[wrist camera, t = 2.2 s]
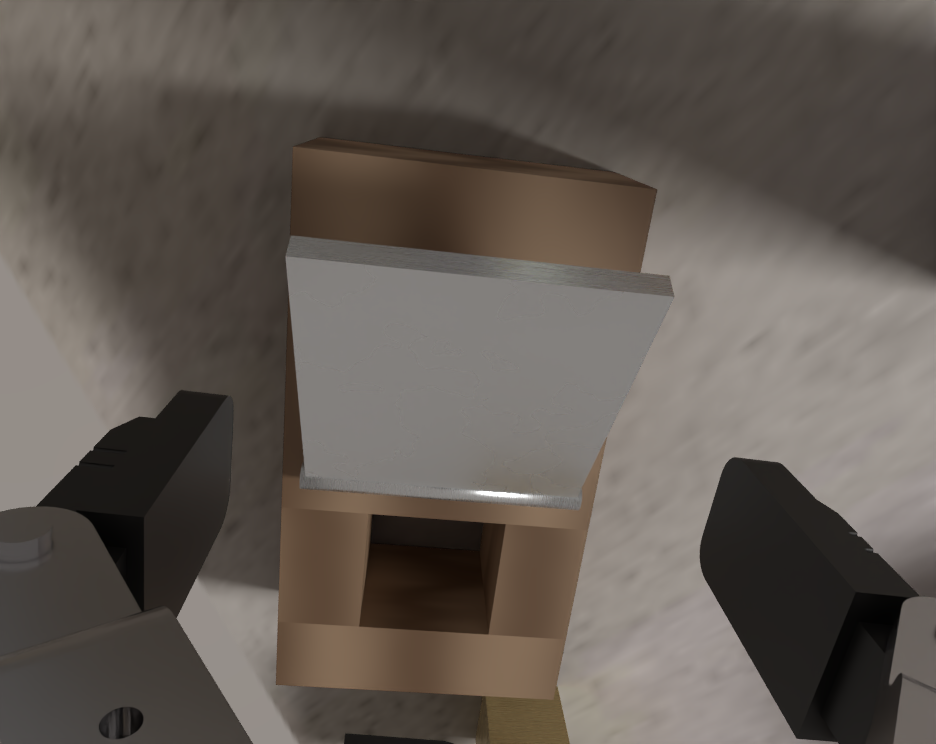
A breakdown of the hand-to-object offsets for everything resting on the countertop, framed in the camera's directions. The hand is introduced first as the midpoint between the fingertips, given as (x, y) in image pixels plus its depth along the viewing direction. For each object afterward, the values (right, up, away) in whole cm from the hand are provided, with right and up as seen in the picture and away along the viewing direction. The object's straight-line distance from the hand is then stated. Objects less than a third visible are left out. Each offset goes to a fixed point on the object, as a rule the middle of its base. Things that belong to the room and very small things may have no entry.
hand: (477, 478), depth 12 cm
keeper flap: (0, +1, +12) cm, 12 cm away
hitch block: (-1, 0, +21) cm, 21 cm away
